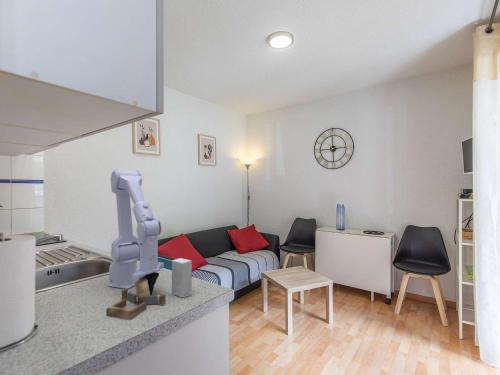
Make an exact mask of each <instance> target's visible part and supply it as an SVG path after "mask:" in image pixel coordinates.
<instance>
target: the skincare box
mask: <svg viewBox="0 0 500 375" xmlns="http://www.w3.org/2000/svg"><path fill="white" fill-rule="evenodd" d="M192 267H193V262H192V260H190V259H186V258H182V257H181V258H175V259H173V260H171V295H173V296H177V297H180V298H186V297H188V296H190V295H192V294H193V293H192V289H193V288H192V286H193V285H192V284H193V283H192V281H193V280H192V278H193V276H192V274H193V271H192V270H193V268H192Z"/></svg>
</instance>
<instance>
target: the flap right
mask: <svg viewBox="0 0 500 375" xmlns="http://www.w3.org/2000/svg"><path fill="white" fill-rule="evenodd" d="M159 295H160V294H157V295H153V294H152V295H151V296H144V297H143V302H146V305H155V304H156V305H159Z"/></svg>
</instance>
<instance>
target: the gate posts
mask: <svg viewBox="0 0 500 375" xmlns="http://www.w3.org/2000/svg"><path fill="white" fill-rule="evenodd" d="M127 291H129V288H128V289H125V288H123V289H122V290H121V300H123V299H126V300H128V299H127ZM158 295H159V304H158V305H159V306H165V305H166V293H165V294H164V293H161V294H158Z"/></svg>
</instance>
